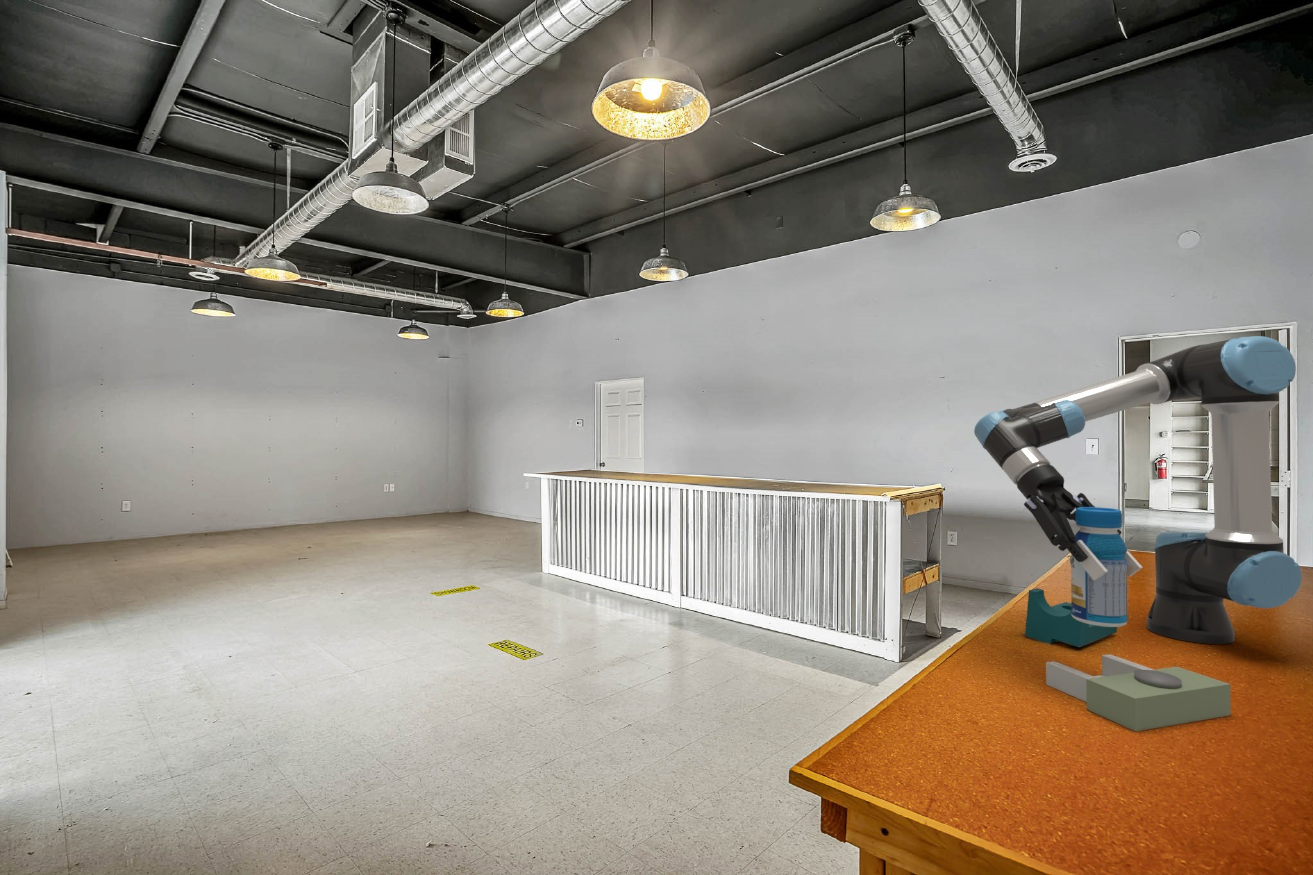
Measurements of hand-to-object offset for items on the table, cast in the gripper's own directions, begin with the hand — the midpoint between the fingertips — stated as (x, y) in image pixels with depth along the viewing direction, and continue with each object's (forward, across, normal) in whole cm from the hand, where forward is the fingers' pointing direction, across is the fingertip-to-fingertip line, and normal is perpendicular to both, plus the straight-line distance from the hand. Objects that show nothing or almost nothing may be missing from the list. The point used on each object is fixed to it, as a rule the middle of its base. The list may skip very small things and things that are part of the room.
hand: (1118, 573), depth 107 cm
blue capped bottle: (+4, 0, -9) cm, 10 cm away
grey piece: (+16, 0, -14) cm, 21 cm away
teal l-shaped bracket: (-3, -23, -34) cm, 41 cm away
